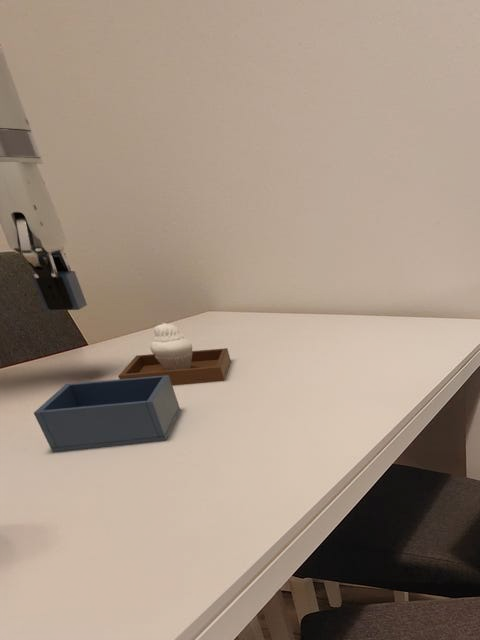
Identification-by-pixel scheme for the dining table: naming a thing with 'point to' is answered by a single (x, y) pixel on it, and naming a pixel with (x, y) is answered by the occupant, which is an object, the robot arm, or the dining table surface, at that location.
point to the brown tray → (201, 369)
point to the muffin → (171, 347)
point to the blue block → (71, 287)
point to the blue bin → (109, 413)
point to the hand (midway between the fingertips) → (65, 305)
